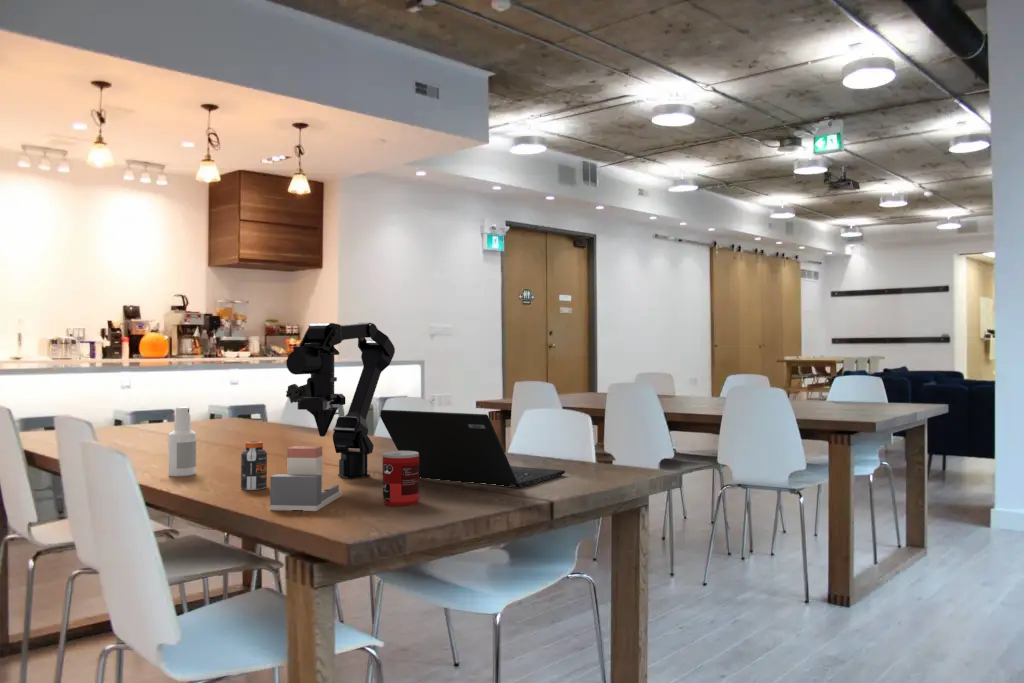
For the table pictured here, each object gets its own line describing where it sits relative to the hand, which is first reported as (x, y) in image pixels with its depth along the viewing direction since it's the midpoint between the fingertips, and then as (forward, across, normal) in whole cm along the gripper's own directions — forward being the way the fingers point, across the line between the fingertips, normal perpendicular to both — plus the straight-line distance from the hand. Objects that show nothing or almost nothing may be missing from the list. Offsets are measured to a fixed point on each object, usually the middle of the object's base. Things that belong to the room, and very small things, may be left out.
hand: (322, 436), depth 196 cm
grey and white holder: (+12, +21, +4) cm, 25 cm away
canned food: (+12, +20, +25) cm, 34 cm away
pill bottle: (+12, +6, -15) cm, 20 cm away
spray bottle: (+12, -11, -42) cm, 46 cm away
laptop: (+13, -10, +37) cm, 40 cm away
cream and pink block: (+11, +24, +4) cm, 26 cm away
